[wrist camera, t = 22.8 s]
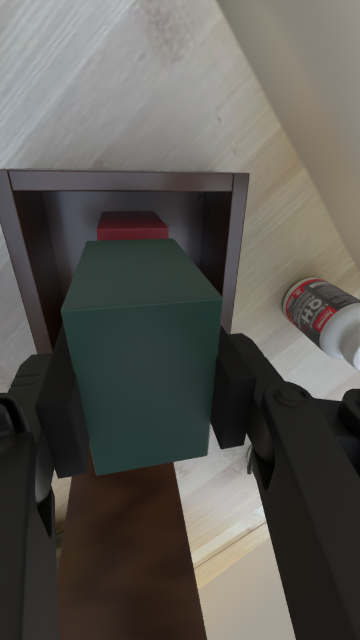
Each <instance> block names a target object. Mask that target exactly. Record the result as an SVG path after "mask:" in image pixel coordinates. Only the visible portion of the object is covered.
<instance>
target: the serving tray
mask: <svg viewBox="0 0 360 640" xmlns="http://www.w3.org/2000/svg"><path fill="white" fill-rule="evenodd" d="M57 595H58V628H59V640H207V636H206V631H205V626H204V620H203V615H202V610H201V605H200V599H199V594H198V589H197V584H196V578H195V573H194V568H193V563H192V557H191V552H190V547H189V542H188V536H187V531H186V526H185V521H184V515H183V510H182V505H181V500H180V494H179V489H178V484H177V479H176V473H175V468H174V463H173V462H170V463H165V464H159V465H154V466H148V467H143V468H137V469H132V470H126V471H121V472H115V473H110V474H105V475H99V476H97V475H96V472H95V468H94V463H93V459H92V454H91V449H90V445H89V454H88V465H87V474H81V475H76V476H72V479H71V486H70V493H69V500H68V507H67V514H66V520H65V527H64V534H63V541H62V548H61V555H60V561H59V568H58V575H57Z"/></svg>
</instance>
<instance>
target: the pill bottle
mask: <svg viewBox="0 0 360 640" xmlns="http://www.w3.org/2000/svg"><path fill="white" fill-rule="evenodd" d="M283 311H284V314H285V316H286V318H287V319H288V320H289V321H290V322H291V323H293V324H294V325H295V326H296V327H297V328H298V329H299V330H300V331H301V332H302V333H304V334H305V335H306V336H307V337H308V338H309V339H310V340H311V341H312V342H313V343H315V344H316V345H317V346H318V347H319V348H320V349H321V350H322V351H323V352H325V353H326V354H327V355H329V356H330V357H333V358H336V359H345V360H346V361H347V362H348V363H349V364H350V365H352V366H353V367H354V368H356V369H357V370H359V371H360V300H359V299H357V298H355V297H353V296H352V295H350V294H348V293H346V292H344V291H343V290H341V289H339V288H338V287H336V286H334V285H332V284H330V283H328V282H327V281H325V280H323V279H320V278H317V277H311V278H306V279H303V280H301V281H299V282H298V283H296V284H295V285H294V286H293V287H292V288H291V289H290V290H289V291H288V293H287V294H286V296H285V299H284V302H283Z"/></svg>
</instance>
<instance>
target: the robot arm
mask: <svg viewBox="0 0 360 640" xmlns="http://www.w3.org/2000/svg"><path fill="white" fill-rule="evenodd" d="M210 422H211V425H212V428H213V430H214V433H215V436H216V438H217V441H218V444H219V446H220V449H225V448H231V447H237V446H242V445H244V441H245V436H246V433H247V435H248V437H249V439H250V441H251V443H252V448H251V452H250V457H249V461H248V466H247V474H251V472H252V468H253V469H254V473H255V477H256V481H257V485H258V489H259V493H260V497H261V501H262V505H263V509H264V513H265V517H266V521H267V525H268V529H269V533H270V537H271V541H272V545H273V549H274V553H275V557H276V561H277V565H278V569H279V573H280V577H281V581H282V585H283V589H284V593H285V597H286V601H287V605H288V609H289V613H290V618H291V622H292V625H293V629H294V634H295V638H296V640H360V389H351V390H348V391H346V393H345V394H344V396H343V399H342V401H334V400H325V399H317V398H313V397H312V396H311V395H310V394H309V392H308V391H307V390H305V389H304V388H302V387H301V386H299V385H296V384H294V383H291V382H286V381H284V380H283V378H282V377H281V376H280V375H279V373H278V372H277V371H276V370H275V368H274V367H273V366H272V364H271V363H270V362H269V361H268V359H267V358H266V357H264V354H263V353H262V352H261V351H260V350H259V349H258V347H257V346H256V344H255V343H254V342H253V341H252V340H251V339H250V338H248V337H247V336H245V335H243V334H242V333H238V334H227V333H226V331H225V330H224V328H223V327H222V325H221V326H220V336H219V346H218V356H217V359H216V369H215V379H214V389H213V399H212V409H211V419H210ZM89 443H90V440H89V435H88V431H87V426H86V421H85V417H84V412H83V407H82V403H81V398H80V393H79V388H78V384H77V379H76V374H75V373H74V371H73V366H72V361H71V357H70V352H69V347H68V343H67V338H66V333H65V329H64V324H63V323H62V326H61V329H60V332H59V335H58V338H57V341H56V344H55V347H54V350H53V353H47V354H37V355H31V356H30V357H29V358H28V359H27V360H26V361H25V362H23V363H22V364H21V365H20V367H19V369H18V372H17V374H16V376H15V378H14V380H13V382H12V384H11V388H9V391H8V393H0V640H59V628H58V595H57V563H56V530H55V497H54V493H53V489H52V486H51V482H52V477H53V472H54V468H55V471H56V474H57V477H58V479H59V478H65V477H70V476H76V475H81V474H87V465H88V454H89Z"/></svg>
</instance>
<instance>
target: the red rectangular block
mask: <svg viewBox="0 0 360 640" xmlns="http://www.w3.org/2000/svg"><path fill="white" fill-rule="evenodd" d="M96 232H97V240H98V241H103V240H137V239H169V228H168V227H167V226H166V225H165V223H164V222H163V221H162V220H161V219H160V218H159V216H158V215H157V214H156V213H155V212H154V211H123V212H102V215H101V218H100V221H99V224H98V227H97V230H96Z"/></svg>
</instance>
